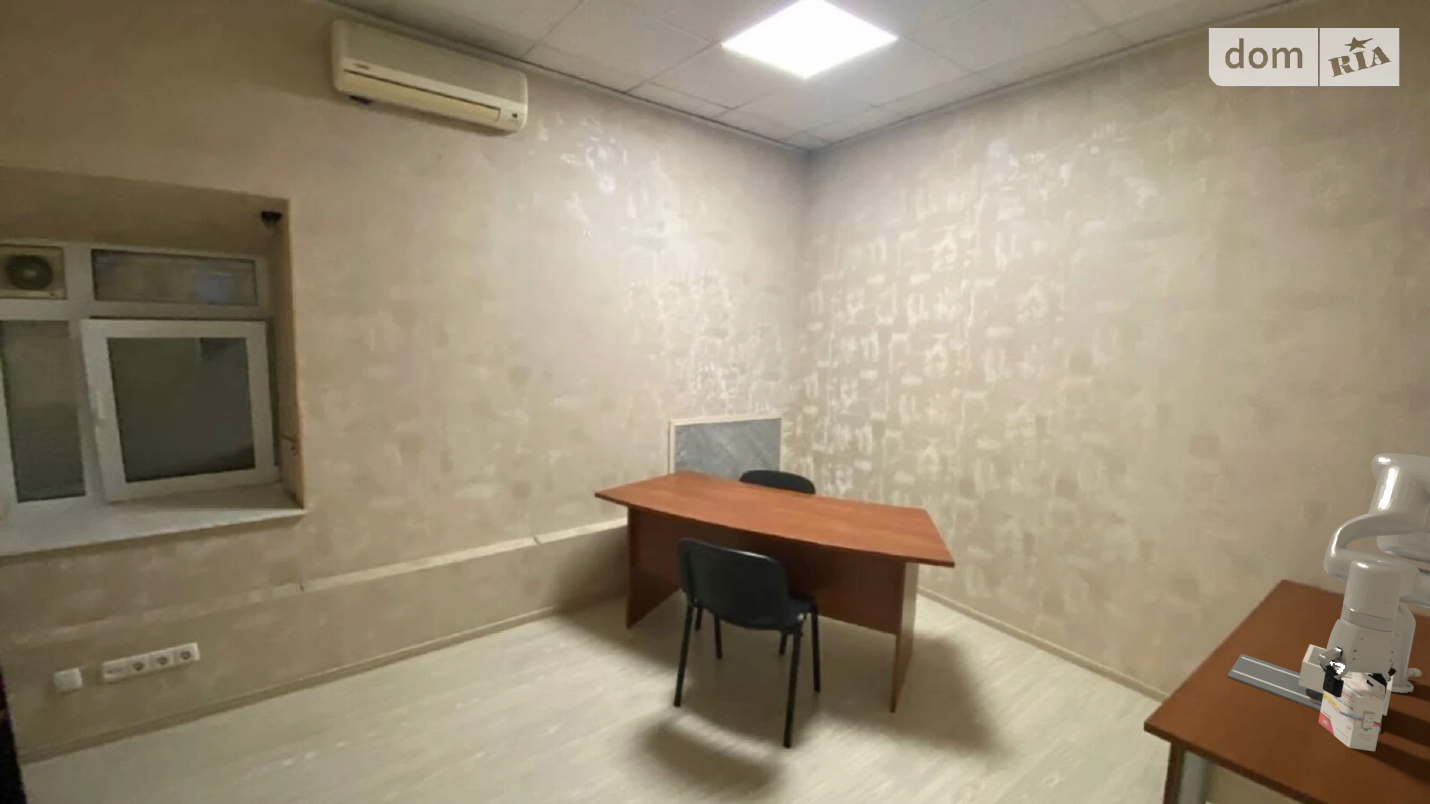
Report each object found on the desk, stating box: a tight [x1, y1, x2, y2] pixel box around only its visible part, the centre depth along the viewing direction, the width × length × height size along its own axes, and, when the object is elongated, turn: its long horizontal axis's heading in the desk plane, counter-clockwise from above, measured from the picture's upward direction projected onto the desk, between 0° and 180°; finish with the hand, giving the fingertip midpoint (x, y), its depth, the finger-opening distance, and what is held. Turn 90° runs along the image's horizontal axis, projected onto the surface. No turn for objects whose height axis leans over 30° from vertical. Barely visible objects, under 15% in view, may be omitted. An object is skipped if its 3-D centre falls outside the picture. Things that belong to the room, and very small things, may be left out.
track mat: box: [1226, 653, 1384, 734], centre depth 145 cm, size 18×26×1 cm
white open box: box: [1298, 643, 1393, 717], centre depth 139 cm, size 14×14×8 cm
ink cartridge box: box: [1318, 672, 1385, 752], centre depth 126 cm, size 9×5×15 cm, turn 168°
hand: (1352, 694), depth 126 cm, fingers open, 9 cm apart
